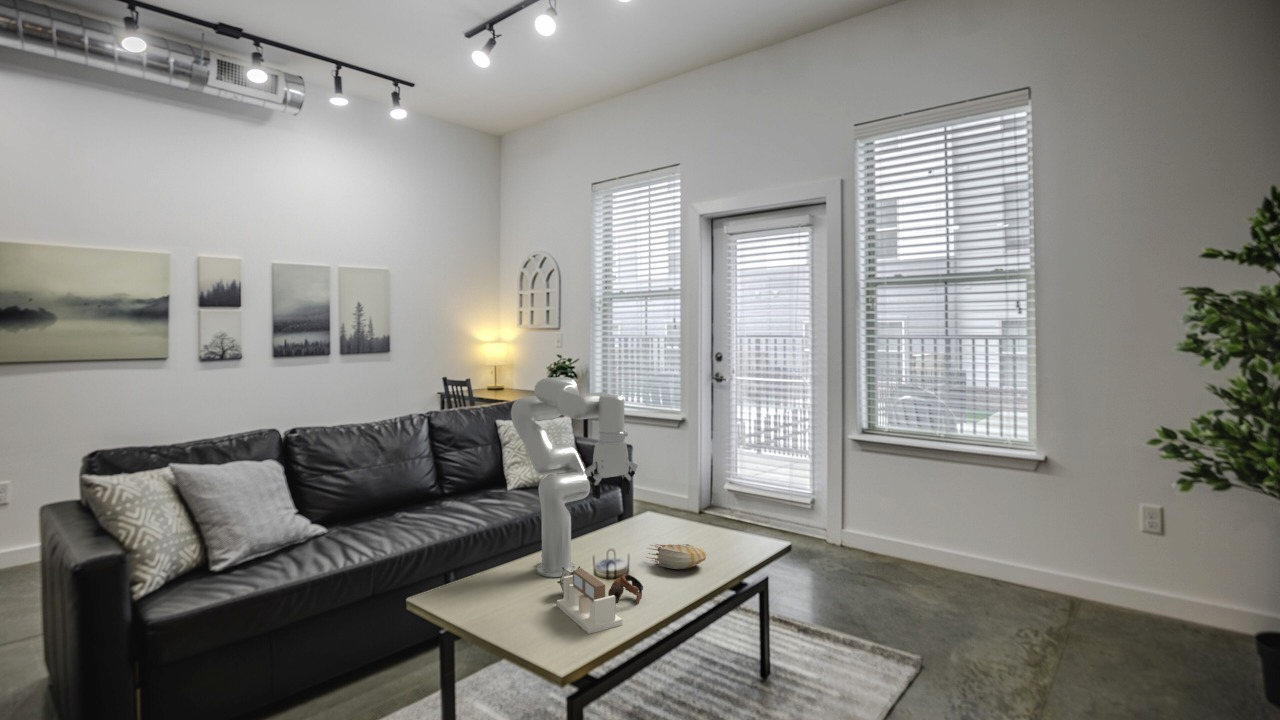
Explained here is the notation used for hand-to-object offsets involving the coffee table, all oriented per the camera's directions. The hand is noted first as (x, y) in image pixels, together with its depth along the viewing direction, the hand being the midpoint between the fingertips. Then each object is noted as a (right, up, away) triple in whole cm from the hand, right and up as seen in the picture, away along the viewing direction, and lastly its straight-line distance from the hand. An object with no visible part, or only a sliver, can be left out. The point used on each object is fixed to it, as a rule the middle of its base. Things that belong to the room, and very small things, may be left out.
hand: (611, 495), depth 183 cm
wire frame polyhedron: (-12, -30, +3) cm, 33 cm away
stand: (-6, -31, -11) cm, 33 cm away
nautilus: (+20, -30, +27) cm, 45 cm away
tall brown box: (-6, -25, -11) cm, 28 cm away
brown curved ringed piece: (+3, -31, -2) cm, 31 cm away
